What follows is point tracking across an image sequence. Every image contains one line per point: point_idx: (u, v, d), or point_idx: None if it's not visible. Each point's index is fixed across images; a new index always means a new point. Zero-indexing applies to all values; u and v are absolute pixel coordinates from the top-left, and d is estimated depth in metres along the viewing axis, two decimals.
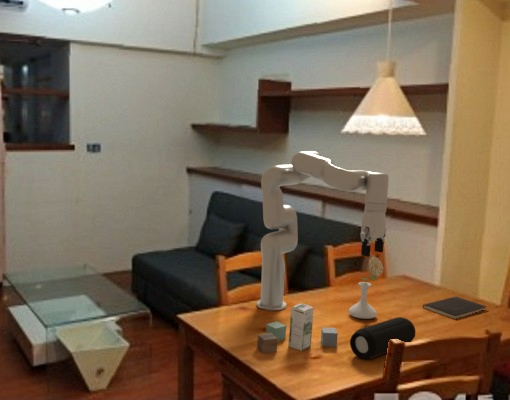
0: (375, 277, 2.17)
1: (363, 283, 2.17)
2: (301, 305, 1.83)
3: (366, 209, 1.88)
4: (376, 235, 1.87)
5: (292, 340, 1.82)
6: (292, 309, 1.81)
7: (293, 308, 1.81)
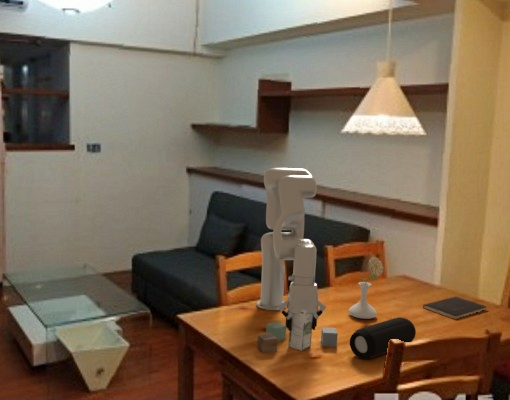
0: (375, 277, 2.17)
1: (363, 283, 2.17)
2: None
3: (314, 283, 1.80)
4: None
5: (292, 340, 1.82)
6: None
7: None
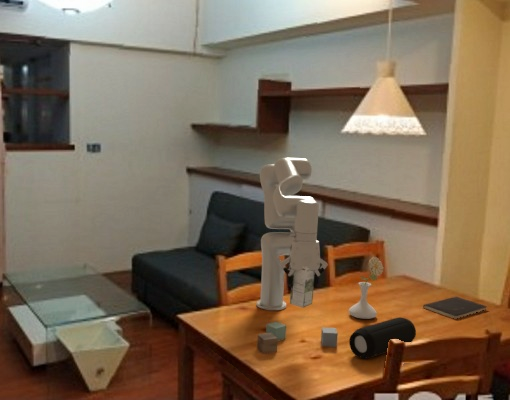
0: (375, 277, 2.17)
1: (363, 283, 2.17)
2: None
3: (316, 240, 1.78)
4: None
5: (294, 297, 1.81)
6: None
7: None
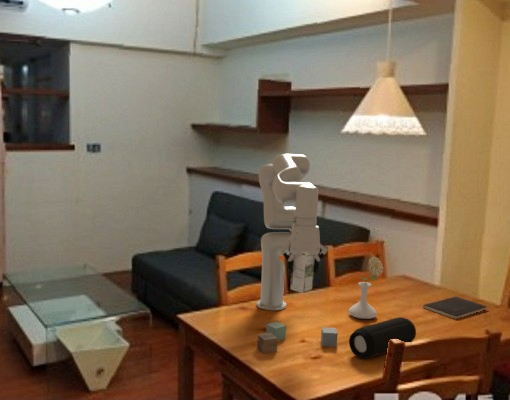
0: (375, 277, 2.17)
1: (363, 283, 2.17)
2: None
3: (315, 225, 1.79)
4: None
5: (294, 283, 1.82)
6: None
7: None
